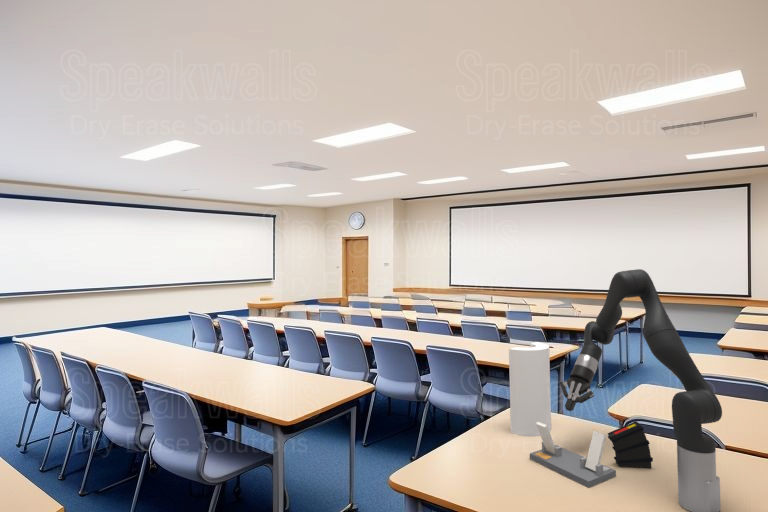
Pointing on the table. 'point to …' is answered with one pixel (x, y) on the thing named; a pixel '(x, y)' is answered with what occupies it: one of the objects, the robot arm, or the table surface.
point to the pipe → (529, 388)
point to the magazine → (631, 446)
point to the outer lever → (546, 437)
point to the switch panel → (572, 466)
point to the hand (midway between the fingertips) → (568, 410)
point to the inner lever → (595, 450)
